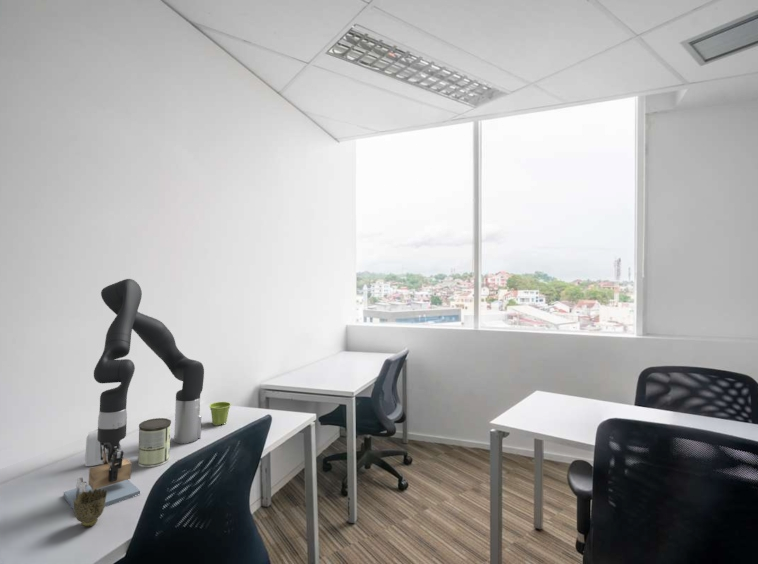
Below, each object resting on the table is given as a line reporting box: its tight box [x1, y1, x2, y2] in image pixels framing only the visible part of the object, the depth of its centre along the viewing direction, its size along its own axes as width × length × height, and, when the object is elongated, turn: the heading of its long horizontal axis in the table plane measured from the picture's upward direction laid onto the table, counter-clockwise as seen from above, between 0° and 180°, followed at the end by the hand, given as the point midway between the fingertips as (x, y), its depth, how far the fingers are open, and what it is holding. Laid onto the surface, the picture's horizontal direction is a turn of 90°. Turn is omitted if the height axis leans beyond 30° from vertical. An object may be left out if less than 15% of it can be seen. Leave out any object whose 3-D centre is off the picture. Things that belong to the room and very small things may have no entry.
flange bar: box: [88, 458, 132, 490], centre depth 127 cm, size 10×4×5 cm, turn 140°
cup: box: [73, 489, 107, 528], centre depth 111 cm, size 8×7×8 cm
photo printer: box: [84, 428, 121, 467], centre depth 146 cm, size 10×4×12 cm, turn 123°
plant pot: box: [208, 401, 232, 426], centre depth 189 cm, size 9×9×9 cm
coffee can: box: [137, 417, 172, 468], centre depth 149 cm, size 10×10×14 cm
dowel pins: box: [75, 477, 87, 498], centre depth 121 cm, size 2×5×5 cm, turn 50°
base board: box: [63, 479, 141, 511], centre depth 125 cm, size 16×15×1 cm
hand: (110, 477), depth 127 cm, fingers closed on flange bar, 4 cm apart
